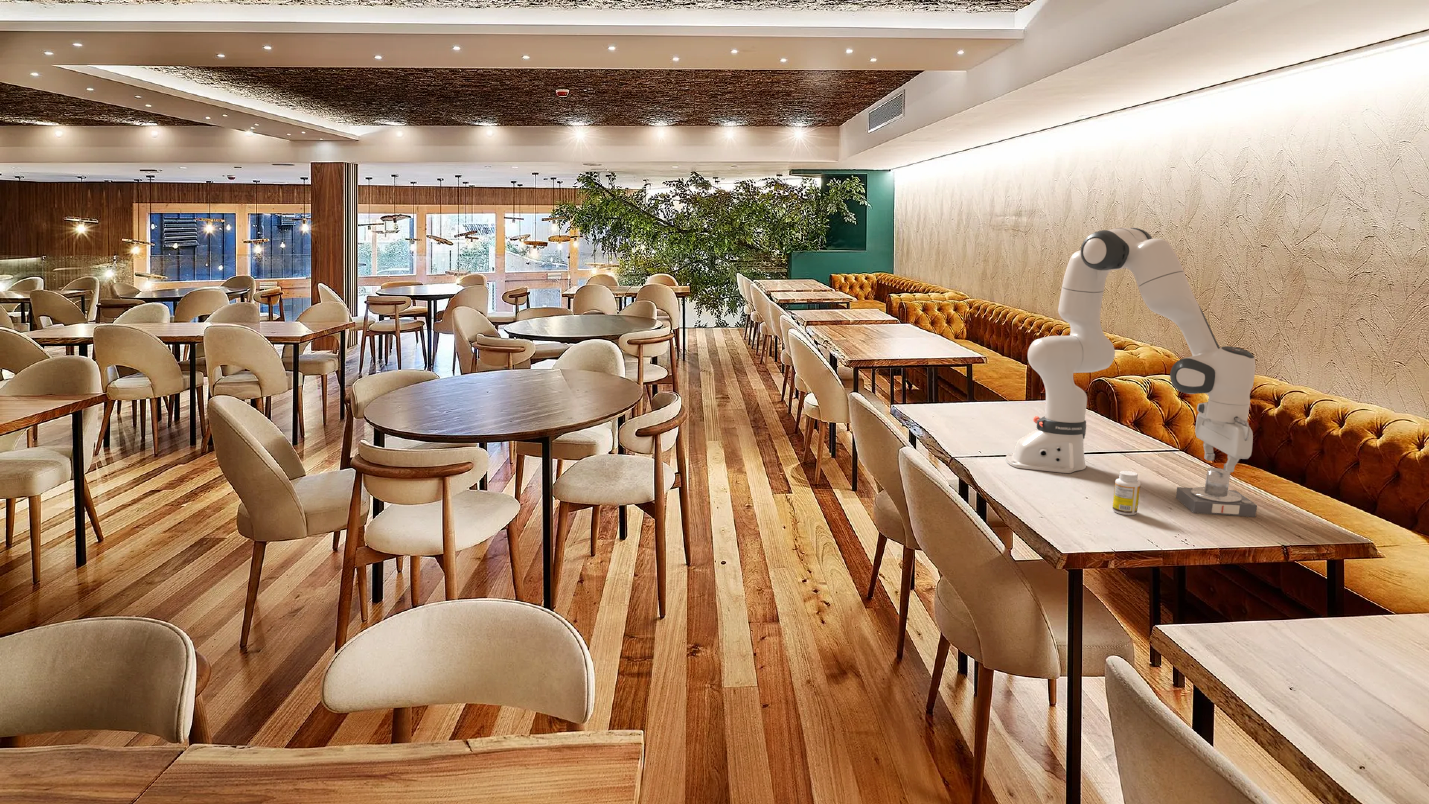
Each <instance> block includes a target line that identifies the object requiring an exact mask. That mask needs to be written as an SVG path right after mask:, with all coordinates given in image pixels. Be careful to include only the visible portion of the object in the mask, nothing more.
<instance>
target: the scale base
mask: <svg viewBox="0 0 1429 804" xmlns="http://www.w3.org/2000/svg"><path fill="white" fill-rule="evenodd" d="M1193 488H1194V487H1183V486H1181V487H1180V486H1177V488H1176V495H1175V499H1177V500H1178V502H1180V503H1182V505H1183V506H1185V507H1186V508H1187V509H1188V510H1190V511H1191V512H1192V513H1193V514H1206V515H1221V516H1236V517H1253V518H1256V515H1257V510H1258V509H1257V508H1258V505H1257V504H1256V503H1255V502H1254V501H1252V500H1251V499H1248V498H1247V497H1246V496H1245V495H1243V494H1241V493H1240V492H1238V491H1237V490H1235V489H1234V490H1233V489H1228V490H1229V491H1232V492H1235V493H1237V494H1239V495H1241V496H1242V500H1241V501H1240V502H1236V503H1222V502H1214V501H1209V500H1205V499H1201V498H1198V497H1196V496H1194V495H1192V494H1191V489H1193Z"/></svg>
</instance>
